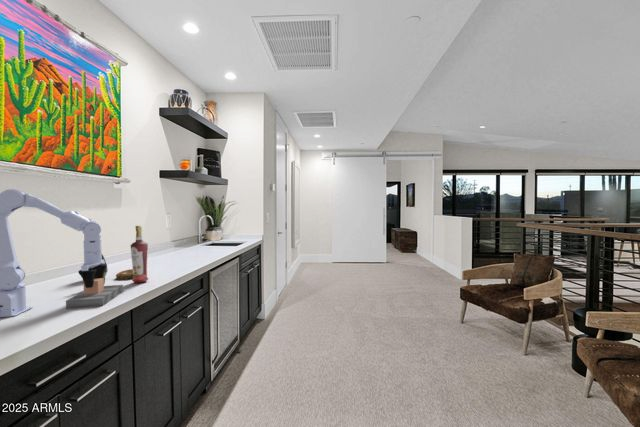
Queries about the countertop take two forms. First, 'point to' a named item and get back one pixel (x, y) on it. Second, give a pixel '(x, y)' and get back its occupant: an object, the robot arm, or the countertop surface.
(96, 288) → the terracotta block
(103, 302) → the charcoal board
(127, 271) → the decorative rock
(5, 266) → the robot arm
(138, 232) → the liquor
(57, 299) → the countertop surface
